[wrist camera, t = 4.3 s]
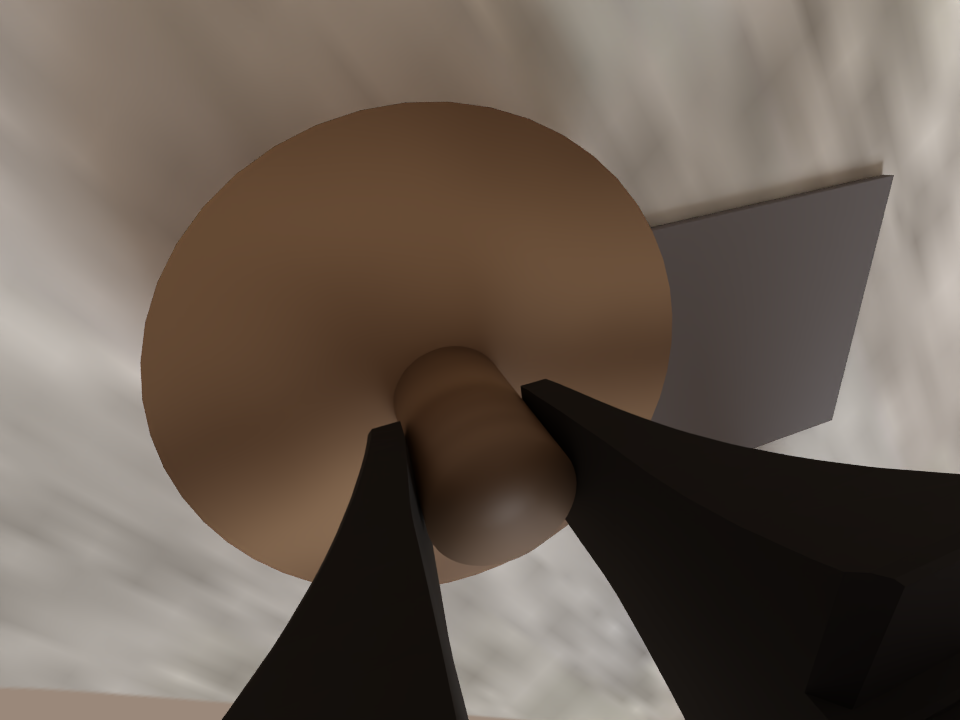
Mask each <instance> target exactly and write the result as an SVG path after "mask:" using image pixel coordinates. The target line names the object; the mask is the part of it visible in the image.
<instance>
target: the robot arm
mask: <svg viewBox="0 0 960 720" xmlns="http://www.w3.org/2000/svg"><path fill="white" fill-rule="evenodd" d="M520 387H521V395H522V399H523V401H524V402H525V403H526V404H527V406H528V407H529V408H530V410H531V411H532V412H533V413H534V415H535V416H536V417H537V418H538V420H539V421H540V422H541V423H542V425H543V426H544V427H545V428H546V430H547V431H548V432H549V433H550V435H551V436H552V437H553V438H554V440H555V441H556V442H557V443H558V445H559V446H560V447H561V448H562V450H563V451H564V452H565V454H566V455H567V456H568V458H569V459H570V461H571V462H572V465H573V467H574V470H575V474H576V481H577V485H576V494H575V498H574V501H573V504H572V507H571V509H570V511H569V513H568V515H567V517H566V518H565V520H566V521H567V523H568V524H569V526H570V527H571V528H572V530H573V531H574V533H575V534H576V535H577V537H578V538H579V540H580V541H581V543H582V544H583V545H584V547H585V548H586V550H587V551H588V552H589V554H590V555H591V557H592V558H593V560H594V561H595V562H596V564H597V565H598V567H599V568H600V570H601V571H602V572H603V574H604V575H605V577H606V578H607V580H608V581H609V583H610V585H611V586H612V588H613V589H614V591H615V592H616V594H617V596H618V597H619V599H620V601H621V603H622V604H623V606H624V608H625V610H626V611H627V613H628V615H629V617H630V618H631V620H632V622H633V624H634V626H635V627H636V629H637V631H638V633H639V634H640V636H641V638H642V640H643V641H644V643H645V645H646V647H647V649H648V651H649V652H650V654H651V656H652V658H653V660H654V662H655V664H656V665H657V667H658V669H659V671H660V673H661V675H662V676H663V678H664V680H665V682H666V684H667V686H668V687H669V689H670V691H671V693H672V695H673V697H674V699H675V701H676V703H677V705H678V706H679V708H680V710H681V712H682V714H683V716H684V718H685V720H960V474H951V473H938V472H925V471H912V470H900V469H887V468H876V467H867V466H859V465H851V464H843V463H836V462H828V461H820V460H814V459H808V458H801V457H795V456H789V455H784V454H778V453H773V452H768V451H763V450H758V449H753V448H748V447H743V446H739V445H734V444H730V443H726V442H722V441H718V440H714V439H710V438H707V437H703V436H699V435H695V434H692V433H688V432H685V431H681V430H678V429H675V428H672V427H668V426H666V425H663V424H660V423H657V422H654V421H651V420H648V419H645V418H642V417H639V416H637V415H634V414H631V413H629V412H626V411H624V410H621V409H618V408H616V407H613V406H611V405H608V404H606V403H604V402H601V401H599V400H596V399H594V398H592V397H589V396H587V395H585V394H582V393H580V392H578V391H575V390H573V389H571V388H568V387H566V386H563V385H561V384H559V383H556V382H553V381H551V380H548V379H543V380H539V381H536V382H532V383H529V384H525V385H522V386H520ZM222 720H469V719H468V715H467V711H466V708H465V704H464V700H463V696H462V692H461V688H460V684H459V680H458V677H457V673H456V669H455V665H454V661H453V656H452V652H451V647H450V642H449V637H448V632H447V626H446V620H445V614H444V608H443V602H442V596H441V590H440V584H439V578H438V573H437V567H436V561H435V555H434V549H433V544H432V542H431V540H430V538H429V535H428V532H427V529H426V525H425V521H424V518H423V514H422V510H421V507H420V503H419V498H418V493H417V488H416V483H415V477H414V471H413V466H412V462H411V458H410V454H409V450H408V447H407V443H406V439H405V436H404V432H403V429H402V425H401V422H400V421H398V422H394V423H391V424H387V425H384V426H380V427H377V428H373V429H371V431H370V432H369V434H368V437H367V444H366V449H365V454H364V458H363V461H362V465H361V468H360V472H359V475H358V478H357V481H356V484H355V487H354V490H353V493H352V496H351V499H350V501H349V504H348V506H347V509H346V511H345V514H344V516H343V519H342V521H341V523H340V526H339V528H338V531H337V533H336V535H335V538H334V540H333V542H332V544H331V546H330V548H329V550H328V552H327V554H326V556H325V558H324V560H323V562H322V564H321V566H320V568H319V570H318V572H317V574H316V576H315V578H314V579H313V581H312V583H311V585H310V587H309V589H308V590H307V592H306V594H305V595H304V597H303V599H302V600H301V602H300V604H299V606H298V607H297V609H296V611H295V612H294V614H293V616H292V617H291V619H290V621H289V623H288V624H287V626H286V627H285V629H284V630H283V632H282V634H281V635H280V637H279V638H278V640H277V641H276V643H275V645H274V646H273V648H272V649H271V651H270V652H269V653H268V655H267V656H266V658H265V659H264V661H263V662H262V663H261V665H260V666H259V668H258V669H257V671H256V672H255V673H254V675H253V676H252V678H251V679H250V681H249V682H248V683H247V685H246V686H245V688H244V689H243V691H242V692H241V693H240V695H239V696H238V698H237V699H236V700H235V702H234V703H233V705H232V706H231V708H230V709H229V711H228V712H227V713H226V715H225V716H224V717H223V719H222Z"/></svg>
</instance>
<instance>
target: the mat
mask: <svg viewBox="0 0 960 720" xmlns="http://www.w3.org/2000/svg"><path fill="white" fill-rule="evenodd" d="M893 176H894V175H880V176H876V177H872V178H867V179H863V180H858V181H854V182H850V183H845V184H841V185H836V186H832V187H828V188H823V189H819V190H814V191H810V192H806V193H801V194H797V195H792V196H788V197H784V198H779V199H775V200H770V201H766V202H762V203H757V204H753V205H748V206H744V207H740V208H735V209H731V210H726V211H722V212H718V213H713V214H709V215H704V216H700V217H696V218H691V219H687V220H683V221H678V222H674V223H669V224H665V225H661V226H656V227H652V228H651V230H652V231H653V234H654V237H655V239H656V242H657V244H658V247H659V250H660V252H661V255H662V257H663V260H664V265H665V269H666V273H667V278H668V282H669V286H670V295H671V306H672V343H671V350H670V356H669V363H668V369H667V373H666V377H665V381H664V384H663V388H662V392H661V395H660V398H659V401H658V403H657V406H656V408H655V411H654V413H653V416H652V418H651V421H654V422H657V423H660V424H663V425H666V426H668V427H672V428H675V429H678V430H681V431H685V432H688V433H692V434H695V435H699V436H703V437H707V438H710V439H714V440H718V441H722V442H726V443H730V444H734V445H739V446H743V447H748V448H755V447H758V446H761V445H764V444H767V443H769V442H772V441H775V440H778V439H780V438H783V437H786V436H789V435H792V434H794V433H797V432H800V431H803V430H805V429H808V428H811V427H814V426H817V425H819V424H822V423H825V422H828V421H830V420H832V418H833V414H834V410H835V406H836V402H837V398H838V394H839V390H840V386H841V382H842V378H843V374H844V370H845V366H846V362H847V358H848V354H849V350H850V346H851V342H852V338H853V335H854V331H855V327H856V323H857V319H858V315H859V311H860V307H861V303H862V299H863V295H864V291H865V287H866V283H867V279H868V275H869V271H870V267H871V263H872V259H873V255H874V251H875V248H876V244H877V240H878V236H879V232H880V228H881V224H882V220H883V216H884V212H885V208H886V204H887V200H888V196H889V192H890V188H891V184H892V180H893Z"/></svg>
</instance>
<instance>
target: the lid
mask: <svg viewBox="0 0 960 720" xmlns="http://www.w3.org/2000/svg"><path fill="white" fill-rule="evenodd" d="M671 343H672V306H671V295H670V286H669V282H668V278H667V273H666V269H665V265H664V260H663V257H662V255H661V252H660V250H659V247H658V244H657V242H656V239H655V237H654V234H653V231H652V230H651V228H650V226H649V224H648V222H647V221H646V219H645V217H644V215H643V214H642V212H641V210H640V208H639V206H638V205H637V203H636V202H635V201H634V199H633V198H632V197H631V196H630V194H629V193H628V192H627V190H626V189H625V188H624V187H623V185H622V184H621V183H620V181H619V180H618V179H617V178H616V177H615V176H614V175H613V174H612V173H611V172H610V171H609V170H608V169H607V168H605V167H604V166H603V165H602V164H601V163H600V162H599V161H598V160H597V159H596V158H595V157H594V156H593V155H591V154H590V153H588V152H587V151H585V150H584V149H583V148H581V147H580V146H578V145H577V144H575V143H574V142H572V141H571V140H569V139H568V138H566V137H565V136H564V135H562V134H560V133H557V132H555V131H553V130H551V129H549V128H547V127H545V126H543V125H541V124H539V123H536V122H534V121H532V120H530V119H527V118H524V117H521V116H517V115H514V114H511V113H507V112H504V111H501V110H497V109H494V108H490V107H483V106H476V105H468V104H461V103H453V102H416V103H401V104H395V105H389V106H383V107H377V108H371V109H366V110H360V111H357V112H354V113H351V114H348V115H345V116H342V117H339V118H336V119H333V120H330V121H327V122H324V123H321V124H318V125H315V126H313V127H312V128H310V129H308V130H306V131H304V132H302V133H300V134H298V135H296V136H294V137H292V138H290V139H288V140H286V141H284V142H282V143H280V144H278V145H276V146H274V147H273V148H272V149H270V150H269V151H267V152H266V153H265V154H263V155H262V156H261V157H259V158H258V159H256V160H255V161H254V162H252V163H251V164H250V165H248V166H247V167H245V168H244V169H243V170H241V171H240V172H239V173H237V174H236V175H235V176H234V177H233V178H232V179H231V180H230V181H229V182H228V183H227V184H226V185H225V186H224V187H223V188H222V189H221V190H220V191H219V192H218V193H217V194H216V195H215V196H214V197H213V198H212V199H211V200H210V201H209V202H208V203H207V204H206V205H205V206H204V207H203V208H202V209H201V211H200V212H199V214H198V215H197V216H196V218H195V219H194V221H193V222H192V223H191V225H190V226H189V227H188V229H187V230H186V232H185V233H184V234H183V236H182V237H181V239H180V240H179V241H178V243H177V244H176V246H175V248H174V250H173V252H172V254H171V256H170V258H169V260H168V262H167V264H166V266H165V268H164V270H163V272H162V274H161V276H160V278H159V280H158V282H157V286H156V289H155V292H154V296H153V299H152V302H151V306H150V309H149V312H148V315H147V319H146V322H145V329H144V338H143V346H142V354H141V381H142V400H143V405H144V409H145V413H146V418H147V422H148V427H149V431H150V435H151V438H152V440H153V443H154V445H155V448H156V450H157V452H158V455H159V457H160V460H161V462H162V464H163V467H164V469H165V470H166V472H167V474H168V475H169V477H170V478H171V480H172V482H173V483H174V485H175V486H176V488H177V490H178V491H179V493H180V494H181V496H182V497H183V499H184V500H185V501H186V502H187V503H188V504H189V505H190V507H191V508H192V509H193V510H194V511H195V512H196V514H197V515H198V516H199V517H200V518H201V519H202V520H203V522H205V523H206V524H207V525H208V526H209V527H210V528H212V529H213V530H214V531H215V532H216V533H217V534H219V535H220V536H221V537H222V538H223V539H224V540H226V541H227V542H228V543H230V544H231V545H233V546H234V547H236V548H237V549H239V550H241V551H242V552H244V553H245V554H247V555H248V556H250V557H251V558H253V559H255V560H257V561H259V562H261V563H263V564H265V565H268V566H270V567H272V568H274V569H276V570H278V571H280V572H283V573H286V574H289V575H292V576H295V577H298V578H301V579H304V580H307V581H310V582H312V581H313V579H314V578H315V576H316V574H317V572H318V570H319V568H320V566H321V564H322V562H323V560H324V558H325V556H326V554H327V552H328V550H329V548H330V546H331V544H332V542H333V540H334V538H335V535H336V533H337V531H338V528H339V526H340V523H341V521H342V519H343V516H344V514H345V511H346V509H347V506H348V504H349V501H350V499H351V496H352V493H353V490H354V487H355V484H356V481H357V478H358V475H359V472H360V468H361V465H362V461H363V458H364V454H365V449H366V444H367V437H368V434H369V432H370V431H371V429H373V428H377V427H380V426H384V425H387V424H391V423H394V422H398V421H400V422H401V425H402V429H403V432H404V436H405V439H406V443H407V447H408V450H409V454H410V458H411V462H412V466H413V471H414V477H415V483H416V488H417V493H418V498H419V503H420V507H421V510H422V514H423V518H424V521H425V525H426V529H427V532H428V535H429V538H430V540H431V542H432V544H433V549H434V555H435V561H436V567H437V573H438V578H439V584H443V583H448V582H452V581H456V580H459V579H463V578H466V577H469V576H473V575H476V574H479V573H482V572H484V571H487V570H489V569H492V568H494V567H497V566H500V565H502V564H504V563H506V562H508V561H511V560H513V559H516V558H519V557H521V556H523V555H525V554H527V553H529V552H530V551H532V550H534V549H535V548H537V547H538V546H539V545H541V544H542V543H544V542H545V541H546V540H548V539H549V538H551V537H552V536H553V535H555V534H556V533H557V532H559V531H560V530H561V529H563V528H564V527H566V526H567V525H568V523H567V521H566V520H565V518H566V517H567V515H568V513H569V511H570V509H571V507H572V504H573V501H574V498H575V494H576V485H577V481H576V474H575V470H574V467H573V465H572V462H571V461H570V459H569V458H568V456H567V455H566V454H565V452H564V451H563V450H562V448H561V447H560V446H559V445H558V443H557V442H556V441H555V440H554V438H553V437H552V436H551V435H550V433H549V432H548V431H547V430H546V428H545V427H544V426H543V425H542V423H541V422H540V421H539V420H538V418H537V417H536V416H535V415H534V413H533V412H532V411H531V410H530V408H529V407H528V406H527V404H526V403H525V402H524V401H523V399H522V395H521V387H520V386H522V385H525V384H529V383H532V382H536V381H539V380H543V379H548V380H551V381H553V382H556V383H559V384H561V385H563V386H566V387H568V388H571V389H573V390H575V391H578V392H580V393H582V394H585V395H587V396H589V397H592V398H594V399H596V400H599V401H601V402H604V403H606V404H608V405H611V406H613V407H616V408H618V409H621V410H624V411H626V412H629V413H631V414H634V415H637V416H639V417H642V418H645V419H648V420H651V418H652V416H653V413H654V411H655V408H656V406H657V403H658V401H659V398H660V395H661V392H662V388H663V384H664V381H665V377H666V373H667V369H668V363H669V356H670V350H671Z"/></svg>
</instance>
